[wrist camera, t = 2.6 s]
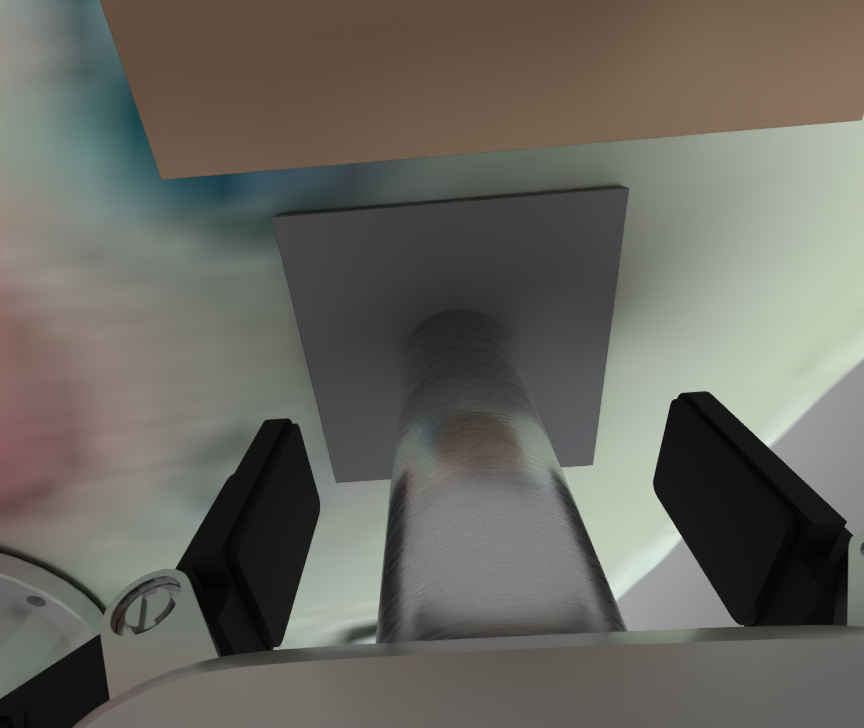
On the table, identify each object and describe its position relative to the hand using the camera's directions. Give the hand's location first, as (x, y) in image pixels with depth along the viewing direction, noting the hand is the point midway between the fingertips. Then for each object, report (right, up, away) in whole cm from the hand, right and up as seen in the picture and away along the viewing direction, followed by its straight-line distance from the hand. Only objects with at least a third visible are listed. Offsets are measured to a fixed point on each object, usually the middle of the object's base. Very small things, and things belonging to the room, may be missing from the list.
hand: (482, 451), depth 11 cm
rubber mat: (0, +3, +5) cm, 6 cm away
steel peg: (0, +2, +5) cm, 5 cm away
